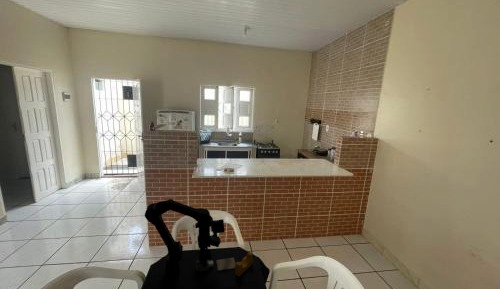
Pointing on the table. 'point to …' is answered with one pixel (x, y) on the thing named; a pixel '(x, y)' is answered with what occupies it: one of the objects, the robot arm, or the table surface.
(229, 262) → the trivet
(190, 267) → the table surface
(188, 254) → the table surface
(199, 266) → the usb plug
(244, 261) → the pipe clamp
